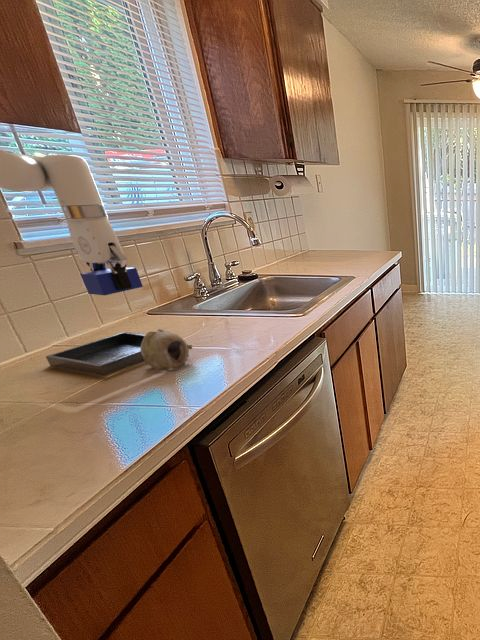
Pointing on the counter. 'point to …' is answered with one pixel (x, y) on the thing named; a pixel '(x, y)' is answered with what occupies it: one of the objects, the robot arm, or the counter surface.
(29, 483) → the counter surface
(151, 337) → the beige rounded hollow piece
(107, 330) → the counter surface
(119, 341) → the tray
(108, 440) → the counter surface
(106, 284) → the blue block
